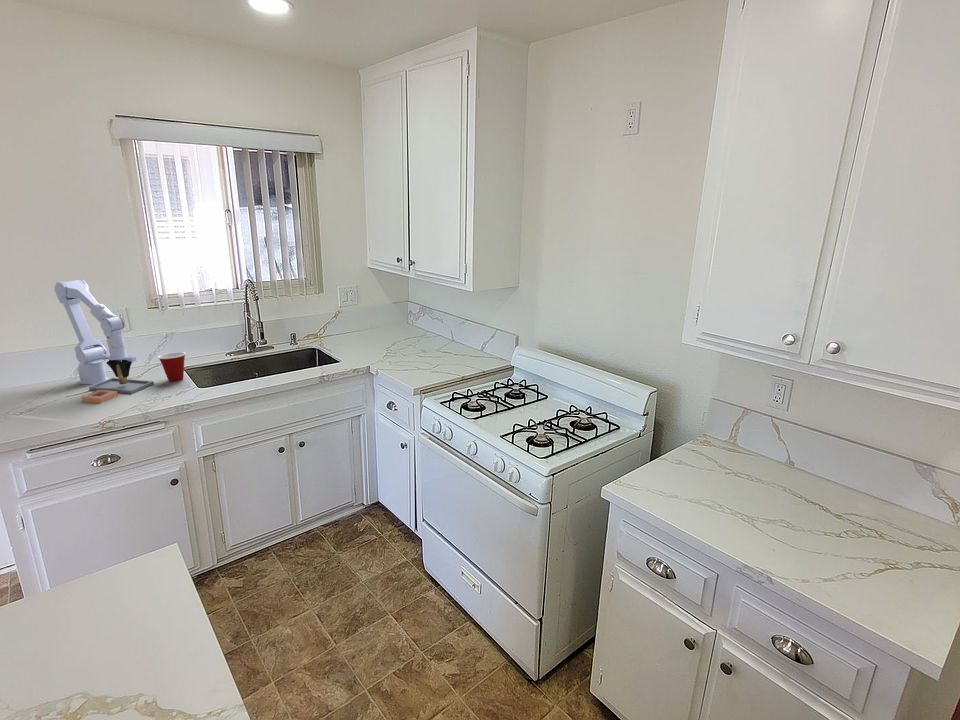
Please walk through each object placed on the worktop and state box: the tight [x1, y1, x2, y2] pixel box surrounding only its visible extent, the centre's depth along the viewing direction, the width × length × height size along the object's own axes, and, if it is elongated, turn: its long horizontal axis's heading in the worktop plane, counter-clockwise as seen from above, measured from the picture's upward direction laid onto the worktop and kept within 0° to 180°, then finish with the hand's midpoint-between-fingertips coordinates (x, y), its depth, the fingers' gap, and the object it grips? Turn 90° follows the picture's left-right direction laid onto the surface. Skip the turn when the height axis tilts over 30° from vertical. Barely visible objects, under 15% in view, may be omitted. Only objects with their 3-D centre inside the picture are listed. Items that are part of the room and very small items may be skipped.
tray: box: [88, 377, 155, 395], centre depth 222 cm, size 20×12×2 cm, turn 81°
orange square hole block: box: [81, 390, 119, 404], centre depth 209 cm, size 8×8×2 cm
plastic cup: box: [157, 351, 186, 383], centre depth 231 cm, size 11×11×12 cm
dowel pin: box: [116, 365, 128, 384], centre depth 220 cm, size 3×3×8 cm
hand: (122, 376), depth 220 cm, fingers closed on dowel pin, 3 cm apart
